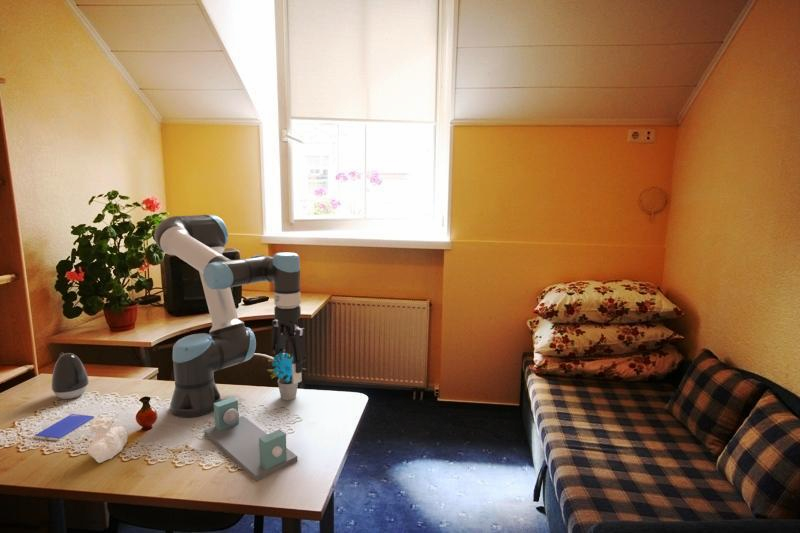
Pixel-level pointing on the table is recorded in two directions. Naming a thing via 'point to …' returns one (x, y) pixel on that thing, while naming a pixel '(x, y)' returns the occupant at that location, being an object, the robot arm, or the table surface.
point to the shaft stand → (248, 442)
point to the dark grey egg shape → (69, 377)
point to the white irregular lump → (106, 439)
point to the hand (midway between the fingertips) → (288, 377)
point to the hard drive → (64, 427)
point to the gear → (283, 366)
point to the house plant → (286, 386)
